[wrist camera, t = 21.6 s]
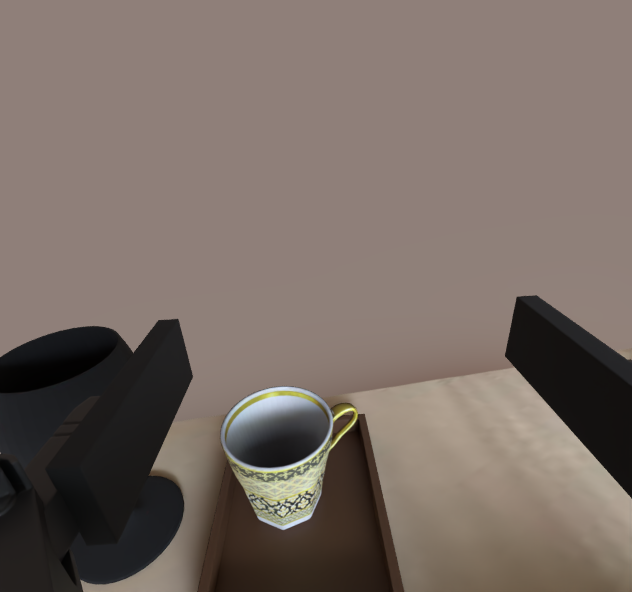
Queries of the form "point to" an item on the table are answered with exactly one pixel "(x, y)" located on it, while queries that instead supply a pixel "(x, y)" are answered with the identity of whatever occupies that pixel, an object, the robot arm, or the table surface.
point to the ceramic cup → (282, 450)
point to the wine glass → (49, 413)
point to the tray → (309, 533)
